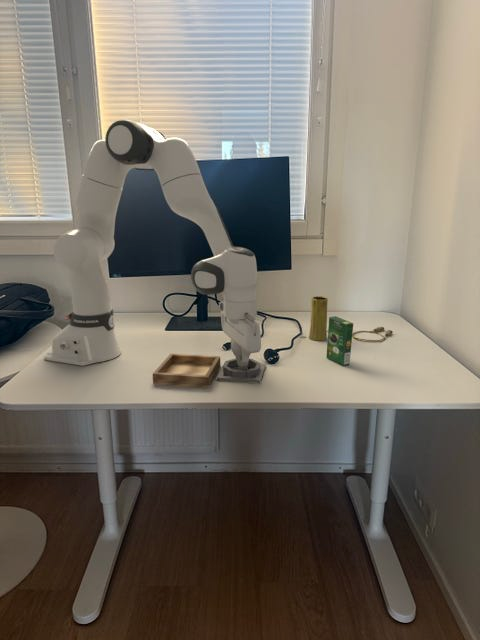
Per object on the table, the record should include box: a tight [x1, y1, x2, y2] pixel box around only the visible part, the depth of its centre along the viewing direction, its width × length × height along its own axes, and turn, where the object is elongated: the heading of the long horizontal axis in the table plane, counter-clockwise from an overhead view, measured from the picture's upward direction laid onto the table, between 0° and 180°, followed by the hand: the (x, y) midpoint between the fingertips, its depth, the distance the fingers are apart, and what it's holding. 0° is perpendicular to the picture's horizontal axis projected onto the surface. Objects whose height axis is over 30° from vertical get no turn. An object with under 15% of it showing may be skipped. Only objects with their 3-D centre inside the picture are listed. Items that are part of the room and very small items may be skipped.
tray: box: [152, 353, 221, 389], centre depth 122 cm, size 15×15×3 cm
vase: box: [308, 295, 328, 342], centre depth 150 cm, size 6×6×14 cm
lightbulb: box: [230, 340, 252, 371], centre depth 121 cm, size 6×6×11 cm
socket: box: [215, 357, 267, 384], centre depth 123 cm, size 12×12×2 cm
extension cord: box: [352, 326, 393, 343], centre depth 154 cm, size 12×16×2 cm
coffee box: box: [326, 316, 354, 367], centre depth 129 cm, size 8×3×13 cm, turn 28°
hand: (240, 357), depth 121 cm, fingers closed on lightbulb, 4 cm apart
